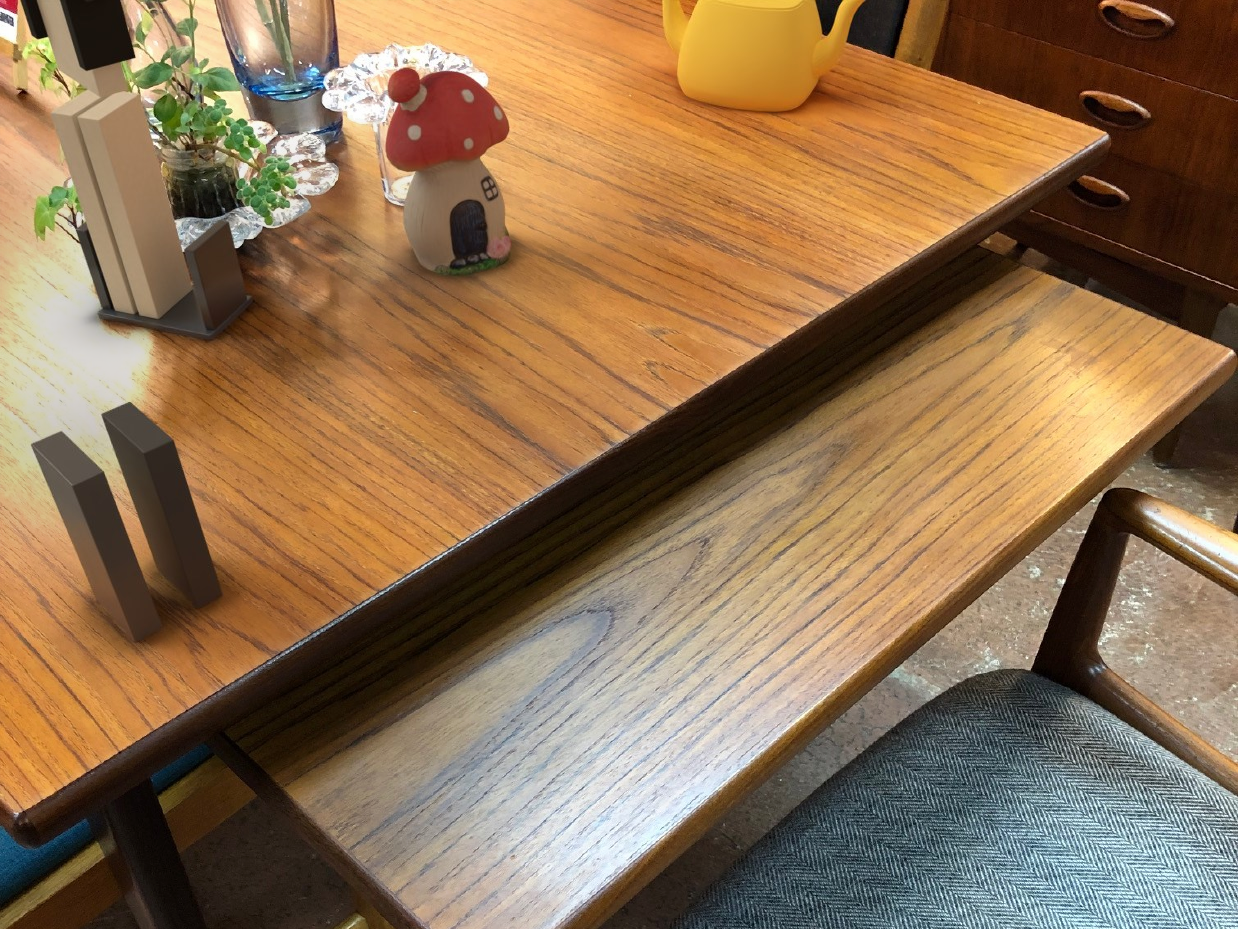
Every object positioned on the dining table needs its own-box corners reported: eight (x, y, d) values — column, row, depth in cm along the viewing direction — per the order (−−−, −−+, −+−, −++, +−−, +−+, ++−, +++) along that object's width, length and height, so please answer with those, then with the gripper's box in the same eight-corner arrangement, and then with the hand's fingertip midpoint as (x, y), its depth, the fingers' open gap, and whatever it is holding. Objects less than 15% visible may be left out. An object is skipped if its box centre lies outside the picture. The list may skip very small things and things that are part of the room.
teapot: (879, 73, 119) (898, -46, 111) (845, 134, 109) (863, 7, 101) (670, 43, 124) (675, -73, 117) (619, 98, 114) (620, -25, 106)
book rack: (100, 324, 85) (69, 233, 80) (146, 286, 89) (118, 197, 84) (213, 347, 83) (188, 255, 78) (255, 308, 87) (233, 217, 82)
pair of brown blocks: (138, 649, 63) (71, 485, 55) (99, 607, 65) (29, 443, 57) (225, 602, 65) (174, 439, 57) (185, 562, 67) (130, 400, 60)
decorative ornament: (411, 291, 89) (384, 85, 78) (389, 251, 93) (361, 50, 82) (530, 268, 91) (520, 66, 80) (503, 230, 95) (490, 33, 85)
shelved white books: (114, 310, 84) (49, 112, 75) (150, 281, 87) (92, 86, 77) (158, 319, 84) (98, 120, 74) (193, 289, 87) (140, 93, 77)
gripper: (96, -578, 43) (235, 79, 60) (-91, -584, 52) (74, -14, 69) (-117, -580, 40) (93, 120, 56) (-278, -587, 49) (-57, 16, 65)
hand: (82, 45), depth 63 cm, fingers closed on white book, 5 cm apart
